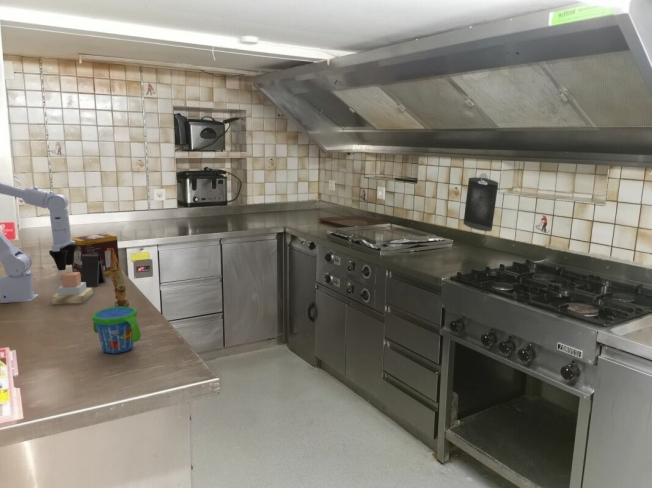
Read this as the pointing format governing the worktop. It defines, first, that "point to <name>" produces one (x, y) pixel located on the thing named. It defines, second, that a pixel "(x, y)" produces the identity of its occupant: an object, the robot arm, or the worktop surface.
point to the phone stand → (92, 270)
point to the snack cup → (116, 328)
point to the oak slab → (72, 297)
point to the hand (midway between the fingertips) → (65, 267)
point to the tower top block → (72, 289)
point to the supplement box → (95, 250)
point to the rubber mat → (76, 303)
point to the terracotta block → (71, 279)
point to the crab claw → (117, 280)
